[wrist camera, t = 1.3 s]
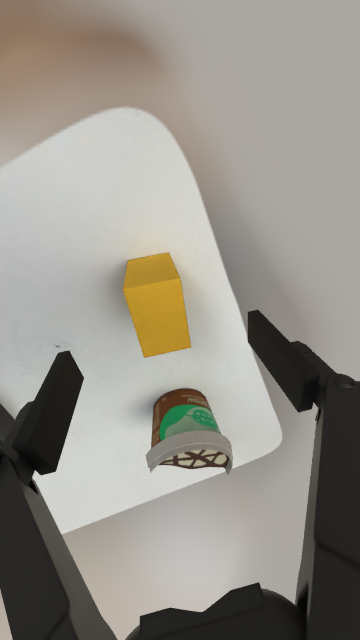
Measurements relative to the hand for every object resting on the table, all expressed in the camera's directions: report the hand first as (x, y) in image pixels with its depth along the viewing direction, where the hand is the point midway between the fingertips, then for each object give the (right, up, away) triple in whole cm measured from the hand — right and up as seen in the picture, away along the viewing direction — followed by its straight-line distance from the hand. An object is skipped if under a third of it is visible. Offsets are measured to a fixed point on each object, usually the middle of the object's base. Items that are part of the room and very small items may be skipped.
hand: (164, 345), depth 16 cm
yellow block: (-2, +6, +9) cm, 11 cm away
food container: (+2, -11, +20) cm, 23 cm away
